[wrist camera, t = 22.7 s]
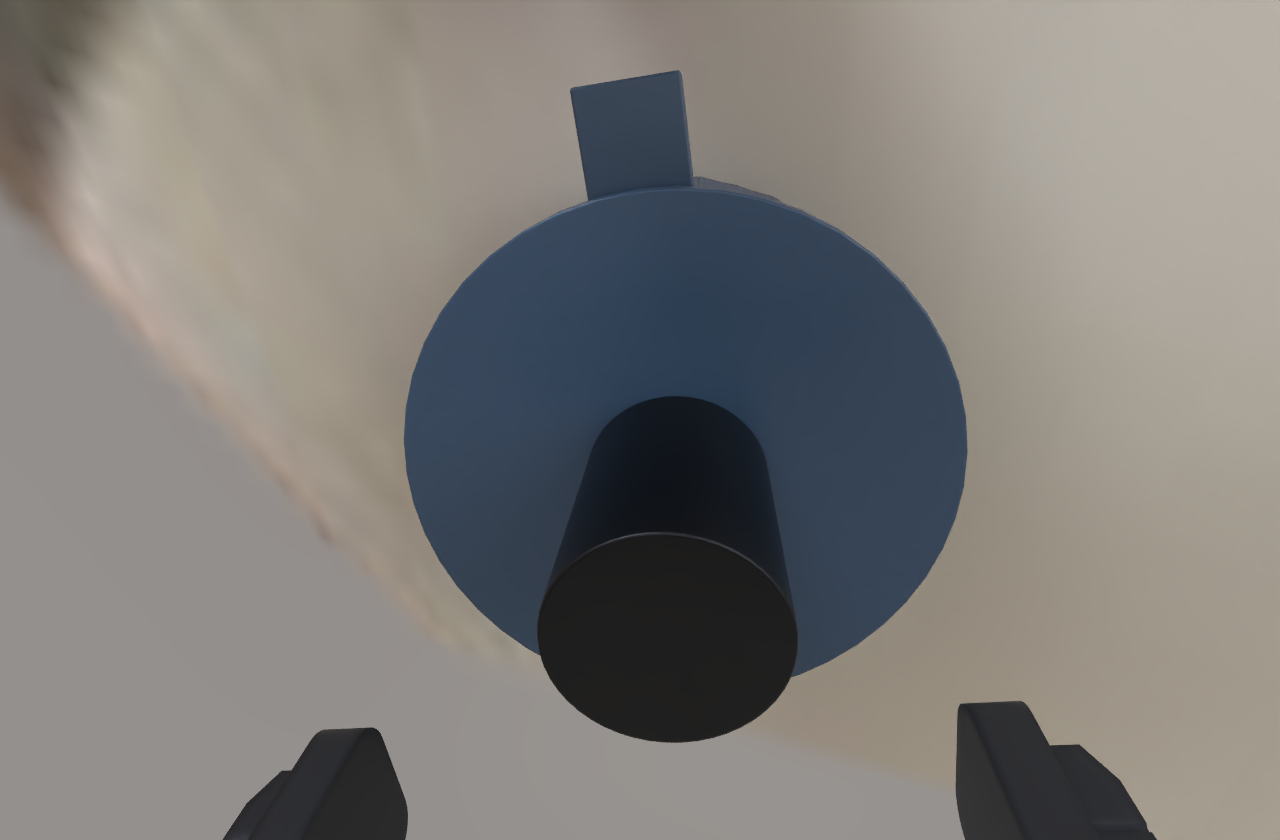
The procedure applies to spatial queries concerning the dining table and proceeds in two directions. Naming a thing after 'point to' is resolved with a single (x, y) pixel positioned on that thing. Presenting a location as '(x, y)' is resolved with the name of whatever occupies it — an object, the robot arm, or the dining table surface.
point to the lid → (684, 451)
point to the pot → (636, 136)
